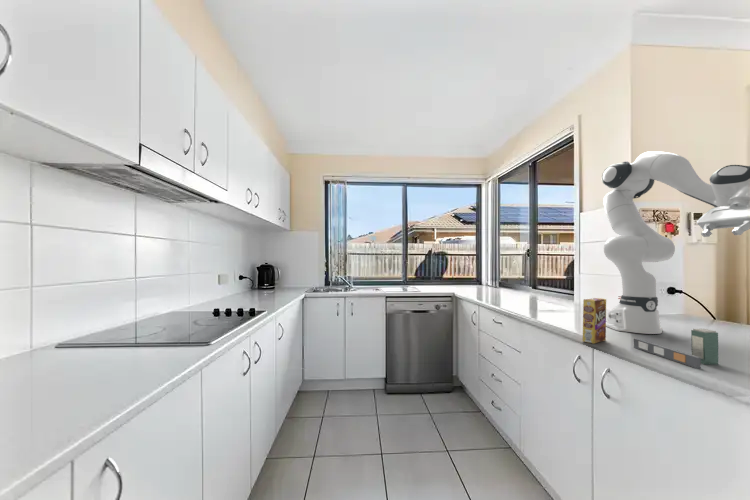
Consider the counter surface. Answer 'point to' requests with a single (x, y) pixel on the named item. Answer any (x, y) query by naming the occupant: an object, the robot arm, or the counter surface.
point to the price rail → (668, 353)
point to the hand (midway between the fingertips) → (719, 234)
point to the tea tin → (705, 345)
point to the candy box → (594, 320)
